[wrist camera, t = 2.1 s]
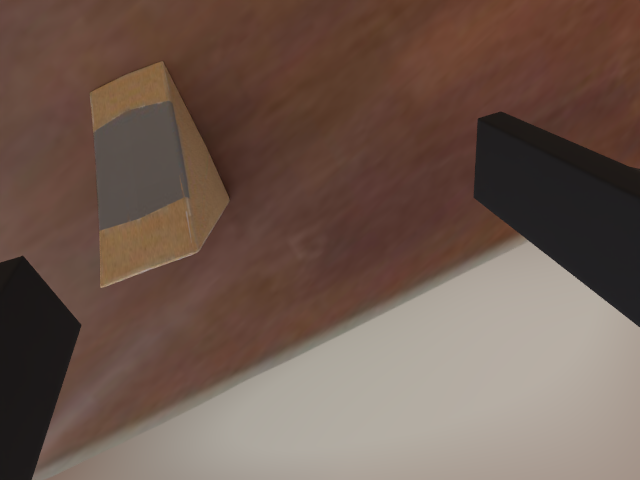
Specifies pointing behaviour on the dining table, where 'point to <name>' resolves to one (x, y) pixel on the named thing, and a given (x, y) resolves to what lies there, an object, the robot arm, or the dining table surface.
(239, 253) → the dining table surface
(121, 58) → the dining table surface
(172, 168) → the sandwich container
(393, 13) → the dining table surface
